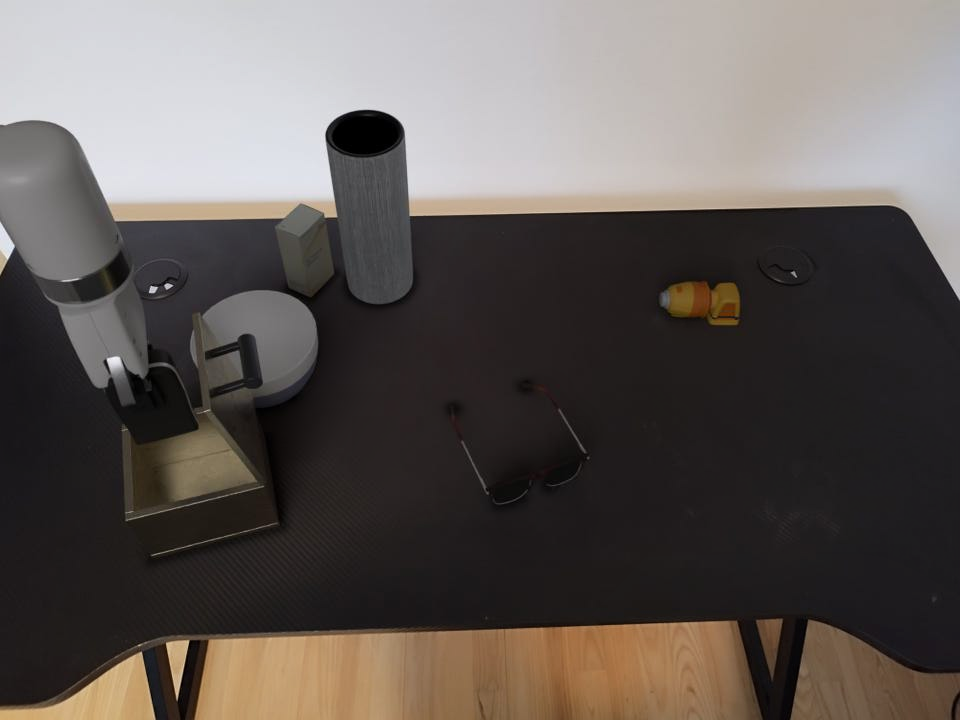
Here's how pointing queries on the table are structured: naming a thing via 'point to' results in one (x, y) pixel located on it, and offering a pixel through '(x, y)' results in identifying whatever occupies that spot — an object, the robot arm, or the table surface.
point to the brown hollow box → (193, 491)
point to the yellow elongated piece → (702, 301)
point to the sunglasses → (520, 484)
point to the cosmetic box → (305, 249)
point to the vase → (372, 203)
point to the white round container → (268, 340)
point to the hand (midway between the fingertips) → (147, 390)
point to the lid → (231, 393)
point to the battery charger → (163, 421)
